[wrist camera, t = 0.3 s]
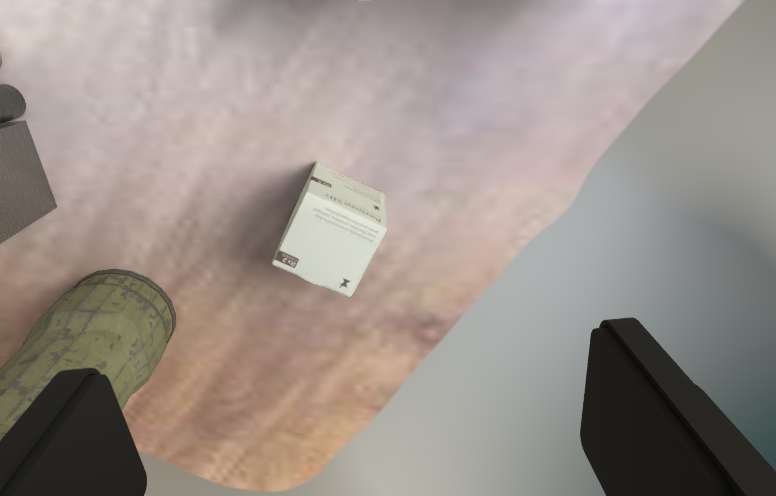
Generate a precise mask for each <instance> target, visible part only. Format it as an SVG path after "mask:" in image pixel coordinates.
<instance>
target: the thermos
mask: <svg viewBox="0 0 776 496" xmlns="http://www.w3.org/2000/svg"><path fill="white" fill-rule="evenodd" d="M175 324H176V313H175V311H174V308H173V305H172V302H171V300H170V299H169V297H168V296H167V295H166V293H165V292H164V291H163V290H162V288H160V287H159V286H158V285H156V284H155V283H154V282H152V281H151V280H150V279H149V278H146V277H144V276H142V275H139V274H137V273H134V272H132V271H125V270H119V269H110V270H102V271H97V272H95V273H93V274H91V275H89V276H87V277H85V278H84V279H83V280H82V281H81V282H80V283H79V284H78V285H77V286H76V287H75V288H74V289H72V290H70V291H68V292H66V293H65V294H64V295H63V296H62V297H61V298H60V299H59V300H58V301H57V302H56V303H55V304H54V305H53V306H51V307H50V308H49V309H48V310H47V311H46V312H45V313H44V314H43V315H42V317H41V318H40V319H39V320H38V321H37V322H36V323H35V324H34V326H33V328H32V329H31V331H30V333H29V335H28V336H27V338H26V340H25V342H24V343H23V345H22V347H21V348H20V349H19V350H18V351H17V352H16V353H15V354H14V355H13V356H12V357H11V358H10V359H9V360H8V361H7V362H6V363H5V364H4V365H3V366H2V367H1V368H0V440H1V439H2V438H3V437H4V436H5V434H6V433H7V432H8V431H9V430H10V428H11V427H12V426H13V425H14V424H15V423H16V421H17V420H18V419H19V418H20V417H21V415H22V414H23V413H24V412H25V411H26V409H27V408H28V407H29V406H30V405H31V403H32V402H33V401H34V400H35V399H36V397H37V396H38V395H39V394H40V393H41V391H42V390H43V389H44V388H45V387H46V385H47V384H48V383H49V382H50V381H51V380H52V378H53V377H54V376H55V375H56V374H57V373H58V372H60V371H63V370H71V369H81V368H96V369H97V370H98V371H99V372H100V374H104V375H106V376H107V377H108V378H109V380H110V382H111V385H112V388H113V390H114V393H115V395H116V398H117V400H118V403H119V405H120V408H121V410H123V408H124V406H125V405H126V403H127V401H128V399H129V398H130V396H131V395H132V394H134V393H135V392H136V391H138V390H139V389H140V388H141V387H142V386H143V385H144V384H145V383H146V382H147V381H148V380H149V378H150V377H151V375H152V373H153V371H154V370H155V368H156V366H157V364H158V363H159V361H160V359H161V357H162V355H163V353H164V351H165V349H166V347H167V343H168V342H169V340H170V338H171V336H172V334H173V331H174V329H175Z"/></svg>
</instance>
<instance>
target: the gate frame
mask: <svg viewBox="0 0 776 496" xmlns="http://www.w3.org/2000/svg"><path fill="white" fill-rule="evenodd" d="M25 109H26V103H25V100H24V98H23V96H22V94H21V93H20V92H19V91H18V90H17V89H16V88H14V87H12V86H10V85H7V84H0V123H1V124H0V244H1V243H2V242H4V241H6V240H7V239H9V238H10V237H12V236H13V235H15V234H16V233H18V232H19V231H21V230H23V229H24V228H26V227H27V226H29V225H30V224H32V223H33V222H35V221H36V220H38V219H39V218H41V217H43V216H44V215H46V214H47V213H49V212H50V211H52V210H53V209H55V208H56V207H57V205H56V203H55V200H54V197H53V194H52V192H51V189H50V186H49V184H48V181H47V178H46V175H45V173H44V170H43V167H42V164H41V162H40V159H39V156H38V153H37V151H36V148H35V145H34V142H33V140H32V137H31V134H30V131H29V129H28V126H27V123H26V121H17V122H7V121H10V120H13V119H16V118H19V117H21V116H22V115H23V114H24V112H25Z"/></svg>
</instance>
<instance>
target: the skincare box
mask: <svg viewBox="0 0 776 496" xmlns="http://www.w3.org/2000/svg"><path fill="white" fill-rule="evenodd" d="M386 231H387V217H386V204H385V194H383V193H381V192H379V191H377V190H374V189H372V188H370V187H368V186H365V185H363V184H361V183H359V182H357V181H355V180H352V179H350V178H348V177H346V176H344V175H342V174H340V173H338V172H337V171H335V170H333V169H331V168H329V167H327V166H325V165H324V164H322V163H320V162H316V163H315V165H314V167H313V169H312V171H311V173H310V175H309V178H308V180H307V182H306V184H305V186H304V188H303V190H302V193H301V195H300V197H299V199H298V201H297V203H296V206H295V208H294V210H293V213H292V215H291V217H290V220H289V222H288V224H287V227H286V229H285V231H284V234H283V236H282V239H281V241H280V244H279V246H278V249H277V251H276V254H275V256H274V258H273V261H272V265H274V266H276V267H278V268H280V269H283V270H285V271H287V272H289V273H291V274H294V275H296V276H298V277H301V278H303V279H304V280H306V281H308V282H310V283H313V284H315V285H319V286H322V287H324V288H327V289H329V290H331V291H334V292H336V293H339V294H341V295H344V296H346V297H351V296H352V294H353V293H354V291H355V289H356V287H357V285H358V283H359V282H360V280H361V278H362V276H363V274H364V272H365V270H366V268H367V266H368V264H369V262H370V260H371V259H372V257H373V255H374V253H375V251H376V249H377V247H378V245H379V243H380V242H381V240H382V238H383V236H384V234H385V233H386Z"/></svg>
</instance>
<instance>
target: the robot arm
mask: <svg viewBox="0 0 776 496" xmlns="http://www.w3.org/2000/svg"><path fill="white" fill-rule="evenodd" d="M580 437H581V443H582V447H583V450H584V452H585V454H586V456H587V458H588V460H589V462H590V464H591V466H592V468H593V470H594V472H595V474H596V476H597V478H598V480H599V482H600V484H601V486H602V488H603V490H604V492H605V494H606V496H776V471H775V470H774V469H773V468H772V467H771V466H770V464H768V462H767V461H766V460H765V459H764V458H763V457H762V456H761V455H760V453H759V452H758V451H757V450H756V449H755V448H754V447H753V446H752V444H751V443H750V442H749V441H748V440H747V439H746V438H745V437H744V436H743V434H742V433H741V432H740V431H739V430H738V429H737V428H736V427H735V425H734V424H732V422H731V421H730V420H729V419H728V418H727V417H726V415H725V414H724V413H723V412H722V411H721V410H720V409H719V408H718V406H717V405H716V404H715V403H714V402H713V401H712V400H711V399H710V398H709V396H707V394H706V393H705V392H704V391H703V390H702V389H701V388H699V387H698V386H697V385H695V384H694V383H693V382H692V381H691V380H690V378H689V377H688V376H687V375H686V374H685V373H684V372H683V371H682V369H681V368H680V367H679V366H678V365H677V364H676V363H675V362H674V360H673V359H672V358H671V357H670V356H669V355H668V354H667V353H666V351H665V350H664V349H663V348H662V347H661V346H660V345H659V343H658V342H656V340H655V339H654V338H653V337H652V336H651V335H650V333H649V332H648V331H647V330H646V329H645V328H644V327H643V326H642V324H641V323H640V322H639V321H638V320H636V319H635V318H621V319H611V320H604V321H602V322H601V324H600V327H599V328H596V329H593V330H592V333H591V339H590V349H589V357H588V366H587V375H586V384H585V393H584V402H583V411H582V421H581V430H580ZM146 486H147V476H146V472H145V469H144V467H143V464H142V461H141V459H140V457H139V454H138V451H137V449H136V446H135V444H134V441H133V439H132V436H131V433H130V431H129V428H128V426H127V423H126V421H125V418H124V416H123V413H122V410H121V408H120V405H119V403H118V400H117V398H116V395H115V393H114V390H113V388H112V385H111V382H110V380H109V378H108V377H107V376H106V375H104V374H100V372H99V371H98V370H97V369H96V368H81V369H71V370H63V371H60V372H58V373H57V374H56V375H55V376H54V377H53V378H52V380H51V381H50V382H49V383H48V384H47V385H46V387H45V388H44V389H43V390H42V391H41V393H40V394H39V395H38V396H37V397H36V399H35V400H34V401H33V402H32V403H31V405H30V406H29V407H28V408H27V409H26V411H25V412H24V413H23V414H22V415H21V417H20V418H19V419H18V420H17V421H16V423H15V424H14V425H13V426H12V427H11V428H10V430H9V431H8V432H7V433H6V434H5V436H4V437H3V438H2V439H1V440H0V496H144V494H145V491H146Z"/></svg>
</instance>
